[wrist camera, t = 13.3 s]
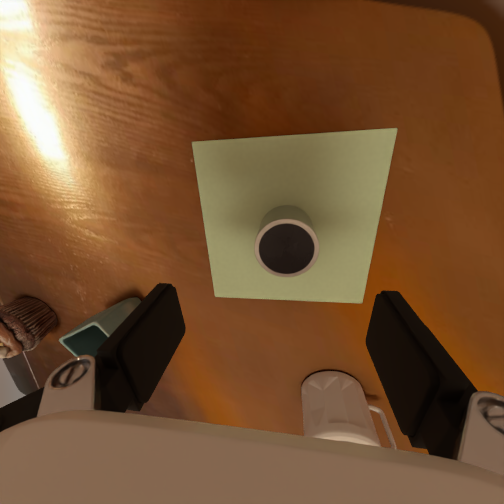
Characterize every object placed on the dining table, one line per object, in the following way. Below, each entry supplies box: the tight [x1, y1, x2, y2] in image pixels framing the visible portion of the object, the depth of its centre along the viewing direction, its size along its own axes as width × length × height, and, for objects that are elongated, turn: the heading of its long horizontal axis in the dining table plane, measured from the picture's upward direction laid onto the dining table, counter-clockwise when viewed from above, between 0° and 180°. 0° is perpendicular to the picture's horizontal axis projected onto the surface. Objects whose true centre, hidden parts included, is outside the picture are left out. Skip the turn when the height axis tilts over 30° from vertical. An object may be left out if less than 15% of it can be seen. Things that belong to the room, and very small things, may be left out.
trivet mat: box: [192, 128, 397, 303], centre depth 28 cm, size 22×22×1 cm
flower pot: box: [59, 297, 141, 357], centre depth 34 cm, size 9×9×9 cm
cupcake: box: [0, 297, 57, 358], centre depth 38 cm, size 10×10×10 cm
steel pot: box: [254, 205, 319, 277], centre depth 25 cm, size 7×7×6 cm
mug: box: [301, 371, 397, 449], centre depth 35 cm, size 14×11×10 cm
